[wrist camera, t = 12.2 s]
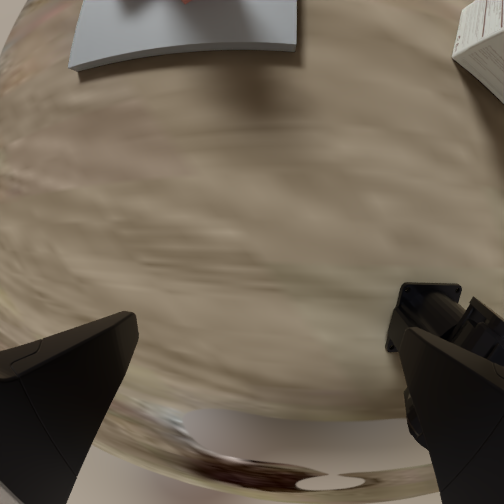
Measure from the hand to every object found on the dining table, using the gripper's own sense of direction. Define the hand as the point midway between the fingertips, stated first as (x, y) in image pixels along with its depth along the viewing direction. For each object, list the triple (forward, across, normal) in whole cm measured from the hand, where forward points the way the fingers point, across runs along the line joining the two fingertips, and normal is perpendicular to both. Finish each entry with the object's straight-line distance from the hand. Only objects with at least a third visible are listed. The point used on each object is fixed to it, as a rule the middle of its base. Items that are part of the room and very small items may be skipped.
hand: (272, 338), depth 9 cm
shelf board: (+13, +8, -22) cm, 27 cm away
